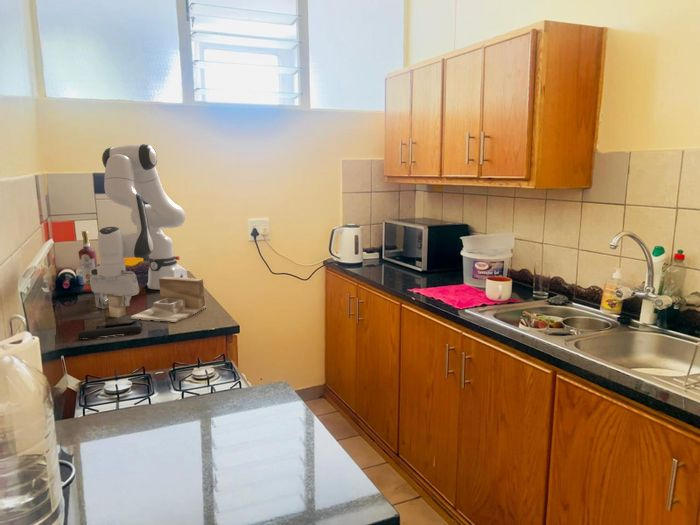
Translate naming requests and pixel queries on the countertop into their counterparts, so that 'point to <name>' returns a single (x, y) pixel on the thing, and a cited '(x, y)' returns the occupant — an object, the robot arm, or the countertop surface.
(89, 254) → the liquor
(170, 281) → the wooden stand
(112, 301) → the maple peg
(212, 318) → the countertop surface
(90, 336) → the door handle
